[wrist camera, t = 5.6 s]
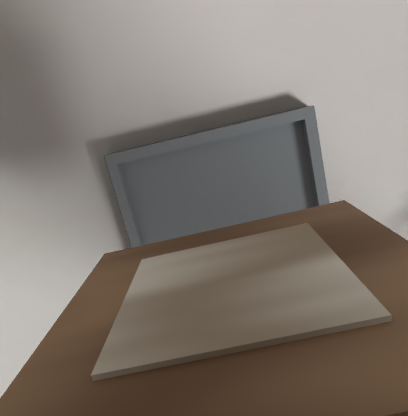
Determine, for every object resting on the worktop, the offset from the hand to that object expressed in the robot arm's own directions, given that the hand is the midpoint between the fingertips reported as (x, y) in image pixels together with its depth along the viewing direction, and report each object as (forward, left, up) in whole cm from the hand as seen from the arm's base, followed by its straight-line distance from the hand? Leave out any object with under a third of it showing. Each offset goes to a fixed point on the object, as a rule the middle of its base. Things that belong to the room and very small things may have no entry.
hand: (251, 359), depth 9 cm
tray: (0, 0, -11) cm, 11 cm away
